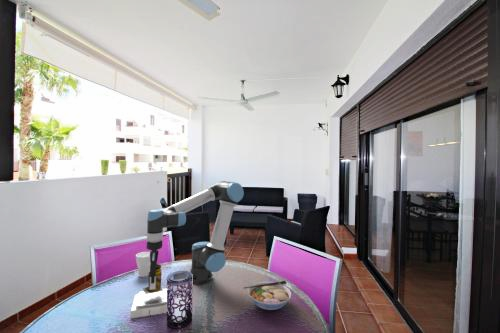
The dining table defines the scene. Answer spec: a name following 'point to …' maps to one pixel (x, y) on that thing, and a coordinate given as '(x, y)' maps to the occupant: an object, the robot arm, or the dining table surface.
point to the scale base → (146, 309)
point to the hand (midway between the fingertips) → (153, 285)
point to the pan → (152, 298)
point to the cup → (143, 263)
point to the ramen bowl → (269, 294)
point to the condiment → (158, 282)
